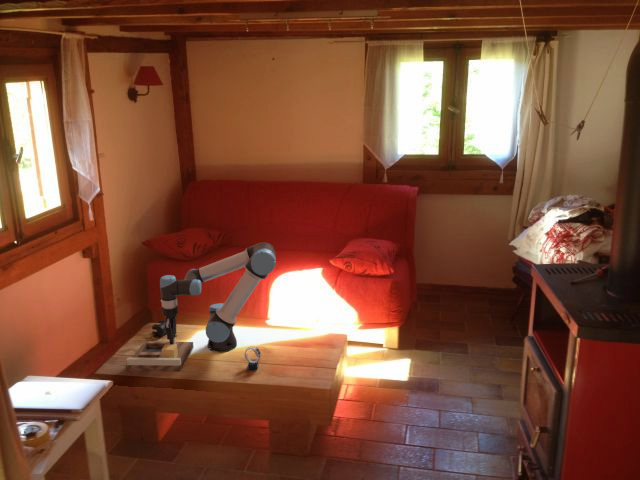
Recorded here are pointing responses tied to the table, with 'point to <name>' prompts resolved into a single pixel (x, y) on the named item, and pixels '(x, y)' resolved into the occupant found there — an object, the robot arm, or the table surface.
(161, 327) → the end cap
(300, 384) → the table surface
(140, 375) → the table surface
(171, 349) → the block
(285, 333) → the table surface
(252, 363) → the watch
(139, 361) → the board
